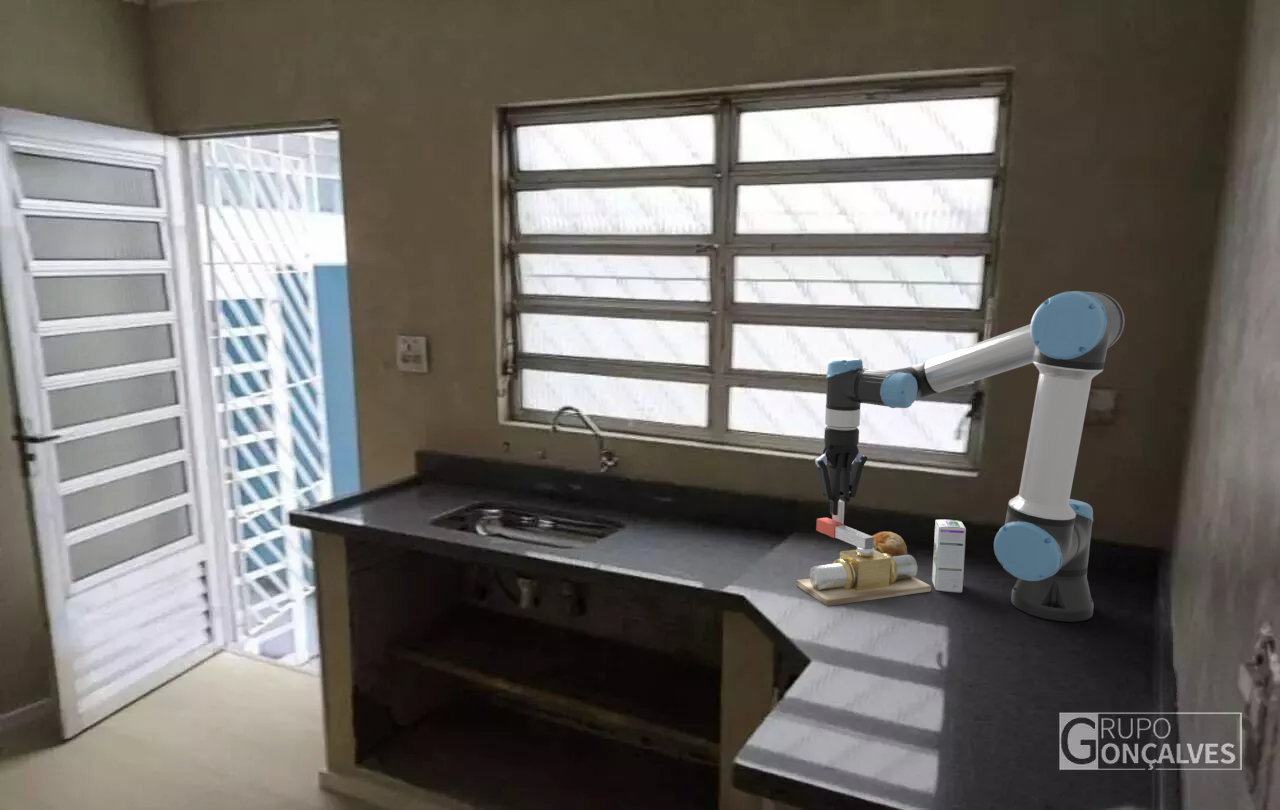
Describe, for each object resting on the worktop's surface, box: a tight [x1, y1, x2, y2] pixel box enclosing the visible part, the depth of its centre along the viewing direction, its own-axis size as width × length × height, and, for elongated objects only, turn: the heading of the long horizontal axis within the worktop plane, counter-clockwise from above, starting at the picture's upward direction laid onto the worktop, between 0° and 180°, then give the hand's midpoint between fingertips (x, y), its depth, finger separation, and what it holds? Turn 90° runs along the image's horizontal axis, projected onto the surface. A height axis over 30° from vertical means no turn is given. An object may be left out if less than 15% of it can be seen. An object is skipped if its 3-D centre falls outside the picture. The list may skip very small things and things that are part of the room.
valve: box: [809, 549, 918, 591], centre depth 178 cm, size 24×7×7 cm, turn 110°
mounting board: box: [795, 576, 932, 607], centre depth 179 cm, size 12×26×1 cm, turn 110°
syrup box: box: [931, 519, 967, 593], centre depth 179 cm, size 6×6×14 cm
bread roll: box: [872, 531, 908, 557], centre depth 199 cm, size 10×10×8 cm
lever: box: [815, 517, 874, 557], centre depth 183 cm, size 16×4×4 cm, turn 28°
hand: (837, 527), depth 188 cm, fingers closed
